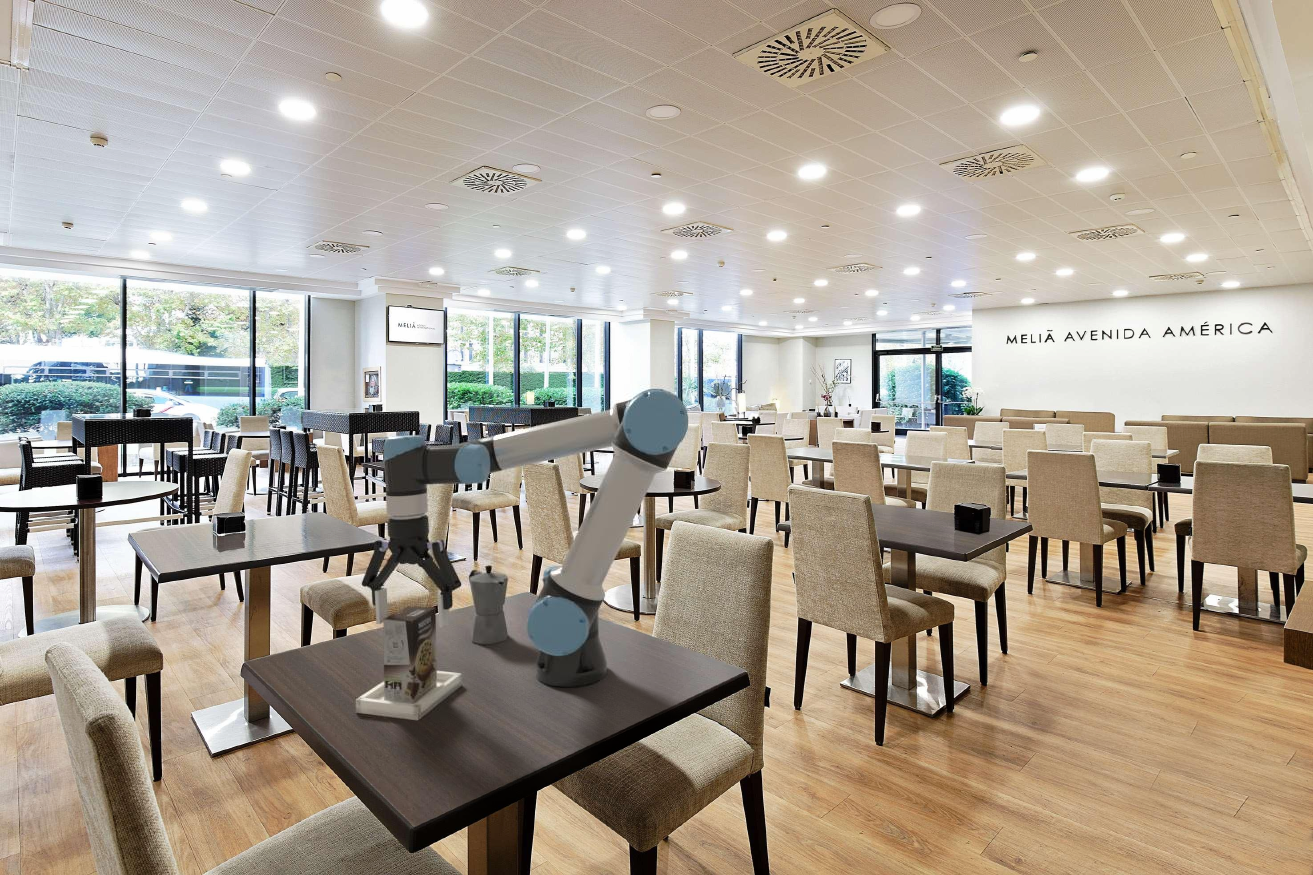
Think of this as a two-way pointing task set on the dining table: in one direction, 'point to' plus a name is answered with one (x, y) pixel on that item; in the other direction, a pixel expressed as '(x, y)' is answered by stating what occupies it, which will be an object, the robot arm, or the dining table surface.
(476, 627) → the coffeepot
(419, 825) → the dining table surface
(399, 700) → the coffee box
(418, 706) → the tray
